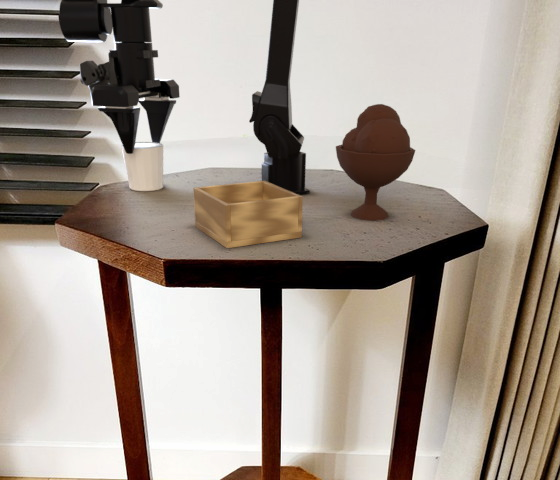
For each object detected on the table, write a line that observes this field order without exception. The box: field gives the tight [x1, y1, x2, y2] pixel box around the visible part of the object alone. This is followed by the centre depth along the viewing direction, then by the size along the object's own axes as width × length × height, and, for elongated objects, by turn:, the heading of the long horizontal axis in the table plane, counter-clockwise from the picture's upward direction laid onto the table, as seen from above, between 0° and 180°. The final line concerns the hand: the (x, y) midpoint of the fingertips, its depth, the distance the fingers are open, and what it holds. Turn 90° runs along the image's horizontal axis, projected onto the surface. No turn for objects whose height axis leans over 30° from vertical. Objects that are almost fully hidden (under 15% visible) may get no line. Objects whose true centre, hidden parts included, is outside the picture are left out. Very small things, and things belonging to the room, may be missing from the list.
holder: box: [192, 180, 304, 249], centre depth 79 cm, size 11×11×5 cm
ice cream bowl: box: [335, 103, 416, 221], centre depth 85 cm, size 11×11×15 cm
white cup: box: [121, 141, 164, 192], centre depth 102 cm, size 7×7×7 cm
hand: (143, 149), depth 100 cm, fingers open, 9 cm apart
